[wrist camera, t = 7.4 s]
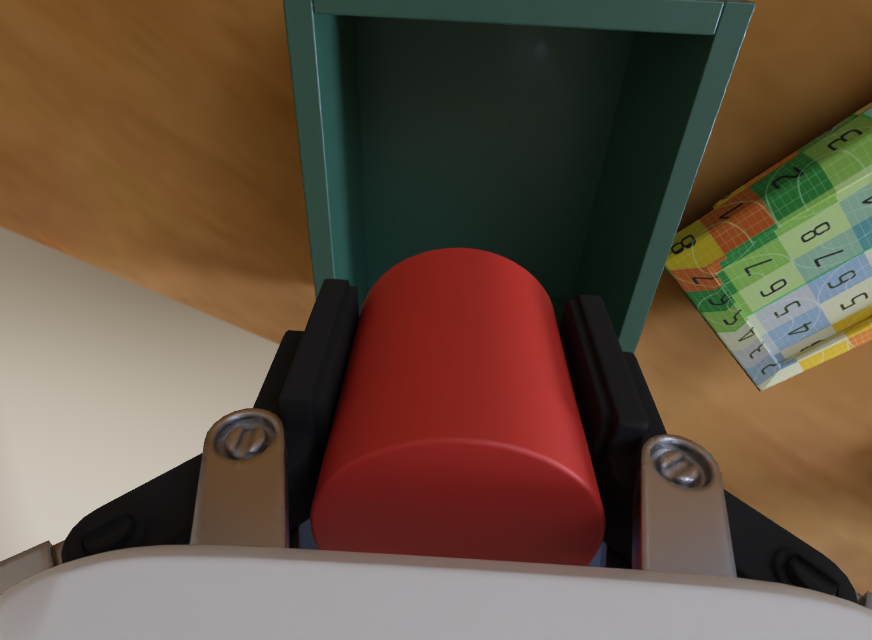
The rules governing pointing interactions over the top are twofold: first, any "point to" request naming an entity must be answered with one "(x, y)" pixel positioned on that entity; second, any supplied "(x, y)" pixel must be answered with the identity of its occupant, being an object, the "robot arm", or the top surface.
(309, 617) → the robot arm
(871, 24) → the top surface
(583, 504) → the piece
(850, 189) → the puzzle game
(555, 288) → the sorter
